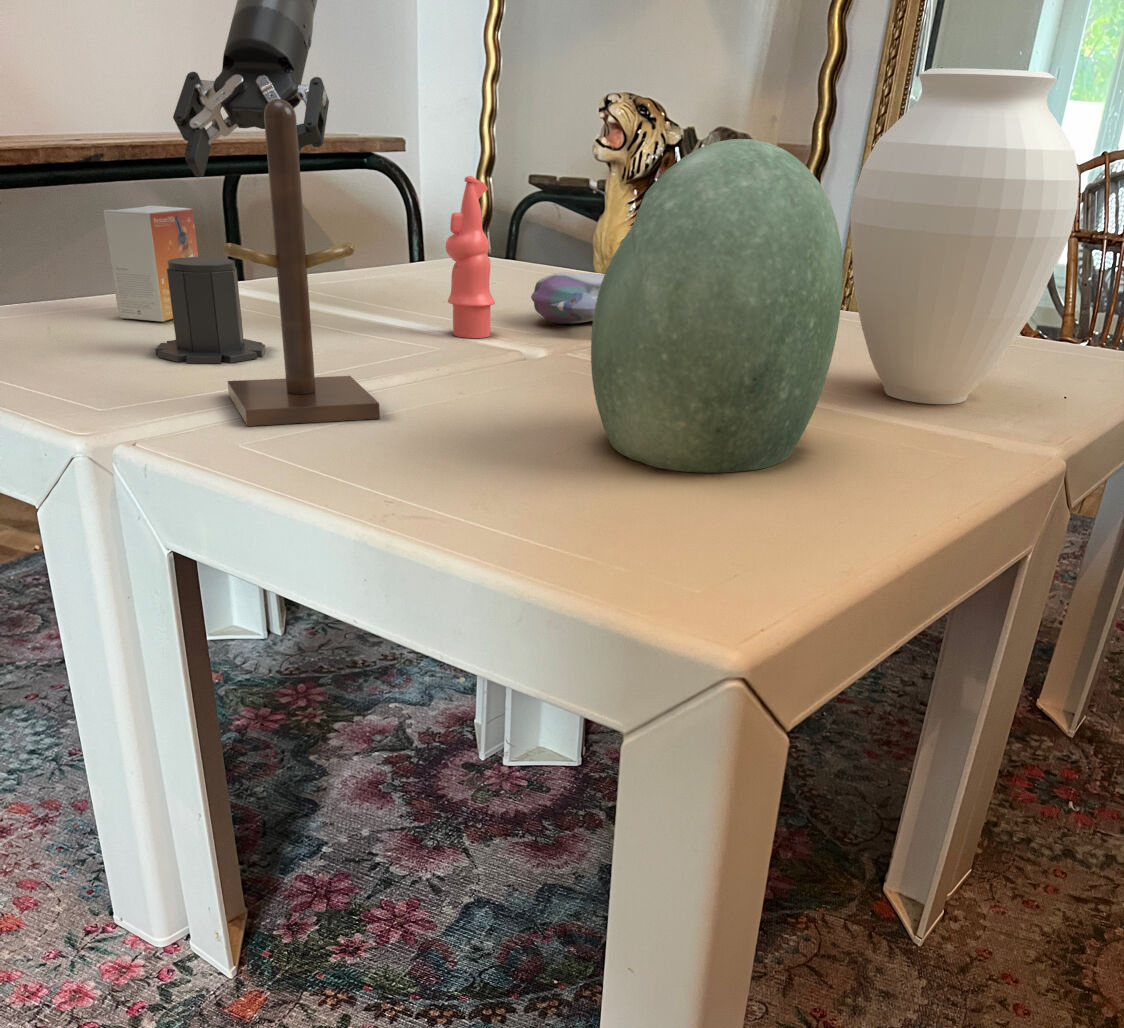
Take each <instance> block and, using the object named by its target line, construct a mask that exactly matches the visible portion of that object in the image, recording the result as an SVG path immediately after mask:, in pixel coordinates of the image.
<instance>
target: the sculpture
mask: <svg viewBox="0 0 1124 1028" xmlns="http://www.w3.org/2000/svg"><path fill="white" fill-rule="evenodd" d="M838 226H839V225H838V221H837V219H836V215H835V211H834V210H833V207H832V204H831V202H830V200H829V197H828V194H827V193H826V191H825V189H824V188H823V186H822V184H821V183H820V181H819V180H818V178H817V177H816V176H815V175H814V173H813V172H812V171H811V170H810V169H809V168H808V167H807V166H806V165H805V164H804V163H803V162H802V161H801V160H800V159H799V158H798V157H796V156H795V155H793V154H792V153H790V152H789V151H787V150H785V149H784V148H781V147H779V146H777V145H774V144H772V143H769V142H766V141H761V140H757V139H751V138H730V139H726V140H720V141H716V142H713V143H709V144H707V145H705V146H702V147H699V148H697V149H696V150H693V151H692V152H690V153H688V154H687V155H685V156H683V157H682V158H681V159H679V160H678V161H676V162H675V163H674V164H673V165H671V166H670V167H669V168H667V170H666V171H665V172H664V173H662V174H661V175H660V176H659V177H658V178H657V180H656V181H654V182H653V184H652V185H650V187H649V188H648V189H647V190H646V192H645V193H644V194H643V198H642V201H641V202H640V206H639V208H638V210H637V212H636V216H635V219H634V220H633V224H632V226H631V227H630V229H629V230H628V231H627V233H626V234H625V236H624V237H623V239H622V241H621V242H620V244H619V246H618V247H617V249H616V250H615V252H614V254H613V256H612V258H611V259H610V262H609V264H608V266H607V268H606V270H605V273H604V274H605V275H604V278H603V281H602V283H601V286H600V290H599V293H598V297H597V302H596V307H595V312H594V318H593V321H592V325H591V326H592V328H591V340H590V366H591V376H592V385H593V393H594V397H595V398H594V399H595V402H596V403H595V404H596V406H597V410H598V414H599V417H600V421H601V424H602V427H603V429H604V432H605V435H606V437H607V439H608V441H609V443H610V446H612V447H613V448H614V450H615V451H617V452H618V453H619V454H620V455H622V456H624V457H626V458H628V459H630V460H633V461H635V462H638V463H642V464H644V465H646V466H647V465H648V466H650V467H654V468H657V469H663V470H668V471H676V472H685V473H700V474H701V473H704V474H718V473H719V474H721V473H735V472H746V471H747V472H748V471H757V470H763V469H766V468H770V467H772V466H775V465H778V464H780V463H782V462H784V461H785V460H787V459H788V458H789V457H790V456H791V455H792V453H793V451H794V450H795V448H796V445H797V444H798V442H799V441H800V439H801V437H802V436H803V434H804V433H805V431H806V429H807V427H808V425H809V423H810V421H811V418H812V416H813V415H814V412H815V410H816V408H817V405H818V403H819V401H820V397H821V396H822V392H823V389H824V386H825V384H826V380H827V376H828V373H829V370H830V366H831V362H832V358H833V354H834V350H835V345H836V341H837V335H838V329H839V325H840V317H841V309H842V300H843V299H842V298H843V297H842V296H843V282H844V281H843V279H844V278H843V277H844V276H843V275H844V272H843V270H844V269H843V251H842V249H843V248H842V242H841V236H840V231H839V227H838Z"/></svg>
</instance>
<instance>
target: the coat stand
mask: <svg viewBox="0 0 1124 1028" xmlns="http://www.w3.org/2000/svg"><path fill="white" fill-rule="evenodd" d="M264 123H265V129H264V133H265V134H264V135H265V147H266V156H267V159H266V160H267V168H268V170H267V171H268V181H269V193H270V205H271V206H270V207H271V216H272V229H273V240H274V241H273V242H274V253H275V254H272V253H270V252H269V253H268V252H265V251H261V250H258V249H254V248H251V247H248V246H244V245H239V244H236V243H232V242H227V243H225V244H224V245H223V252H224V254H225V255H226V256H228V257H230V258H234V259H238V260H242V261H245V262H249V263H253V264H256V265H261V266H263V267H268V268H272V269H275V270H276V275H277V276H276V277H277V278H276V279H277V290H278V300H279V313H280V326H281V337H282V346H283V347H282V348H283V349H282V350H283V359H284V371H285V373H284V374H285V378H266V379H264V378H263V379H243V380H227V390H228V396H229V398H230V399H231V402H232V403H233V405H234V406H235V408H236V410H237V411H238V413H239V415H240V417H241V418H242V420H243V421H244V423H245V424H246V426H247V427H257V426H258V427H259V426H260V427H261V426H274V425H275V426H276V425H277V426H278V425H292V424H309V423H327V422H329V423H331V422H344V421H345V422H346V421H347V422H348V421H364V420H365V421H366V420H379V419H380V418H381V414H380V402H379V401H377V400H376V399H375V398H374V397H373V396H372V395H371V394H370V393H369V392H368V391H367V390H366V389H365V388H364V387H363V386H362V385H360V384H359V383H358V381H356V380H355V378H353V377H352V376H351V375H337V376H334V375H333V376H315V363H314V350H313V348H314V347H313V335H312V323H311V321H312V320H311V307H310V292H309V279H308V270H309V269H311V268H314V267H318V266H320V265H321V266H322V265H324V264H327V263H330V262H334V261H336V260H337V261H338V260H340V259H344V258H346V257H347V258H348V257H350V256H352V255H354V253H355V246H354V244H353V243H352V242H344V243H341V244H338V245H335V246H331V247H328V248H324V249H322V250H319V251H318V250H317V251H315V252H311V253H308V254H307V251H306V250H307V249H306V237H305V236H306V235H305V223H304V207H303V194H302V193H303V192H302V181H301V179H302V178H301V167H300V166H301V165H300V155H299V150H298V136H297V125H298V124H297V115H296V110H295V108H294V109H293V107H292V106H291V105H290V104H289V103H288V102H287V101H285V100H282V99H274V100H272V101H270V102H269V103H268V104H267V105H266V107H265V110H264Z"/></svg>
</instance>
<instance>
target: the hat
mask: <svg viewBox="0 0 1124 1028" xmlns="http://www.w3.org/2000/svg"><path fill="white" fill-rule="evenodd" d="M167 275H168V283H169V290H170V298H171V306H172V314H173V319H172V320H173V327H174V328H173V329H174V336H175V339H172V340H167V341H166V342H160V344H159V345H157V346H156V348H154V352H155V355H156V356H157V357H158V358H159V359H163V360H164V359H165V360H168V361H170V362H171V361H172V362H176V363H182V362H186V364H212V365H213V364H214V365H215V364H216V365H217V364H219V365H220V364H222V363H223V362H226V363H230V364H233V363H239V362H246V361H251V360H257V359H258V358H262V357H263V356H264V354H265V353H266V344H263V342H261V341H256V340H252V339H247V338H244V331H243V319H242V310H241V299H240V289H239V279H238V269H237V267H236V264H235V260H233V259H230V258H225V257H213V256H198V257H185V258H175V259H170V260H168V269H167Z"/></svg>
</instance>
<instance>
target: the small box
mask: <svg viewBox="0 0 1124 1028" xmlns="http://www.w3.org/2000/svg"><path fill="white" fill-rule="evenodd" d="M102 212H103V219H104V226H105V233H106V240H107V245H108V253H109V259H110V266H111V271H112V273H111V274H112V280H113V287H114V293H115V299H116V305H117V312H118V317H119V318H120V319H128V320H140V321H153V322H167V321H169V320H173V314H172V306H171V298H170V290H169V283H168V275H167V269H168V260H170V259H175V258H185V257H199V253H198V252H199V251H198V243H197V235H196V234H197V233H196V226H195V225H196V223H195V217H194V215H195V214H194V210H193V208H191V207H190V208H188V207H178V206H165V205H145V206H139V207H131V208H121V209H104V210H103V211H102Z"/></svg>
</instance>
